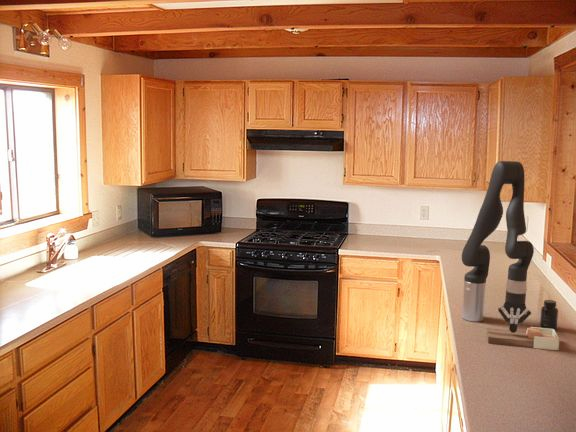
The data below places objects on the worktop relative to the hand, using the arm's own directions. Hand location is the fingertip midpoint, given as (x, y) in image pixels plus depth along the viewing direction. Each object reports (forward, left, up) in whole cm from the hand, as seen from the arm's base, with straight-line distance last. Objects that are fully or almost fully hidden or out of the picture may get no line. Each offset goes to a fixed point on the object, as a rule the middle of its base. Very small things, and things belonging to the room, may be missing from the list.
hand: (512, 331), depth 249 cm
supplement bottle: (-21, +17, -4) cm, 27 cm away
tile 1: (0, +8, -1) cm, 8 cm away
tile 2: (0, +13, -3) cm, 13 cm away
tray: (0, +12, -4) cm, 12 cm away
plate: (0, -1, -4) cm, 4 cm away
